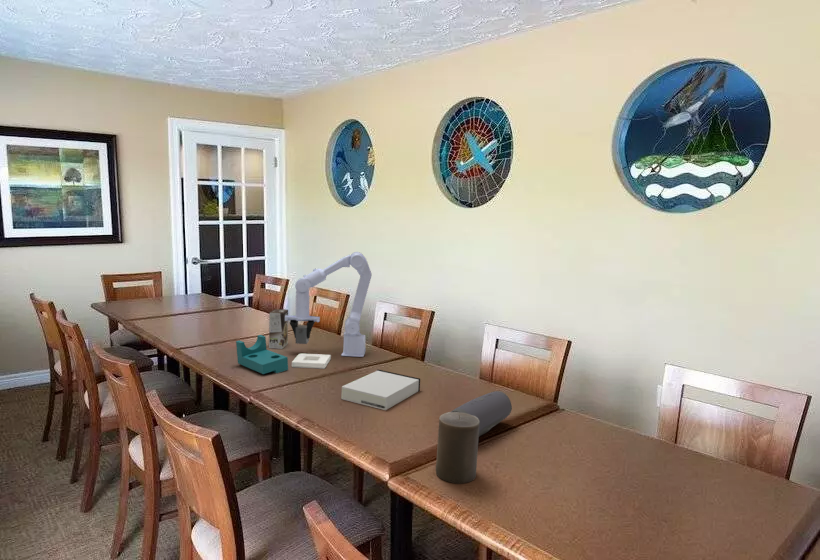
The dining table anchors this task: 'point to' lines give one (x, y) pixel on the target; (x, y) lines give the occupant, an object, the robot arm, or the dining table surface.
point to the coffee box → (278, 329)
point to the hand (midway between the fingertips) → (302, 337)
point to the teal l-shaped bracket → (260, 357)
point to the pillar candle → (457, 447)
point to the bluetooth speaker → (487, 409)
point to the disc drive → (380, 389)
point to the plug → (301, 334)
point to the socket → (311, 361)
